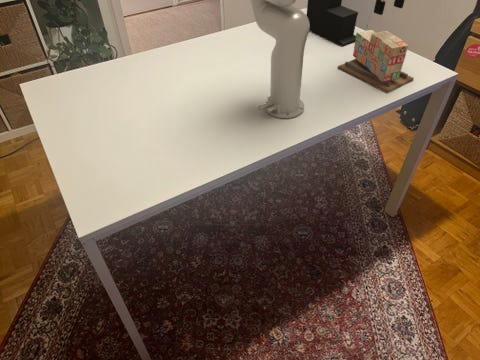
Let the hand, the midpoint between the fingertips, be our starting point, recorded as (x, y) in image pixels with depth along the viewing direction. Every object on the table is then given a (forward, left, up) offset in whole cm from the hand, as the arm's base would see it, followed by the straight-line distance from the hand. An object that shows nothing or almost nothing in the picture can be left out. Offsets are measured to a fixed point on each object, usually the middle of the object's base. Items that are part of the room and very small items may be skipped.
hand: (388, 10), depth 119 cm
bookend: (+14, +35, -23) cm, 44 cm away
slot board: (0, 0, -23) cm, 23 cm away
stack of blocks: (+1, +1, -20) cm, 20 cm away
